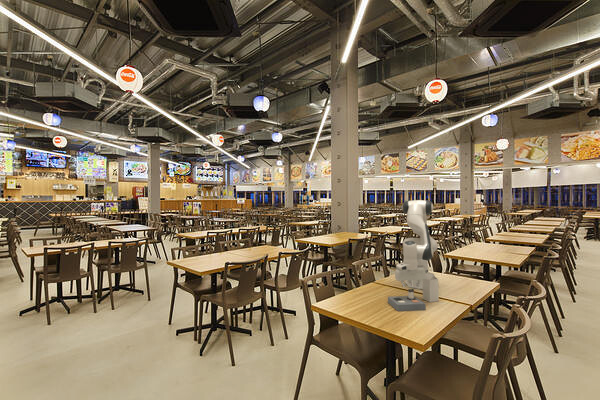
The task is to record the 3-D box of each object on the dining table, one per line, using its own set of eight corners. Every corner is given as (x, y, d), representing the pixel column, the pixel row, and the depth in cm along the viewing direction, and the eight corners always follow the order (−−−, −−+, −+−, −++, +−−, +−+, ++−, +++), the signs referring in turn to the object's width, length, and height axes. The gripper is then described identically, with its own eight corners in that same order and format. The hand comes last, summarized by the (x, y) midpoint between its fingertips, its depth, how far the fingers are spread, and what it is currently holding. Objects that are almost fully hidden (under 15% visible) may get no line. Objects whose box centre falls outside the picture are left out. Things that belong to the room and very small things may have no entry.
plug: (407, 304, 191) (407, 288, 191) (412, 303, 192) (412, 288, 192) (409, 305, 188) (409, 290, 188) (415, 305, 188) (414, 290, 188)
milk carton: (430, 302, 194) (429, 274, 194) (422, 299, 201) (422, 271, 201) (438, 301, 196) (438, 273, 196) (431, 298, 203) (430, 271, 203)
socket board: (387, 302, 194) (387, 296, 195) (413, 301, 196) (413, 295, 196) (397, 311, 179) (397, 304, 179) (425, 310, 180) (425, 303, 180)
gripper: (423, 264, 194) (423, 284, 194) (393, 265, 193) (394, 286, 193) (428, 266, 188) (428, 287, 188) (397, 267, 186) (398, 288, 186)
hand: (410, 286), depth 190 cm, fingers open, 8 cm apart
